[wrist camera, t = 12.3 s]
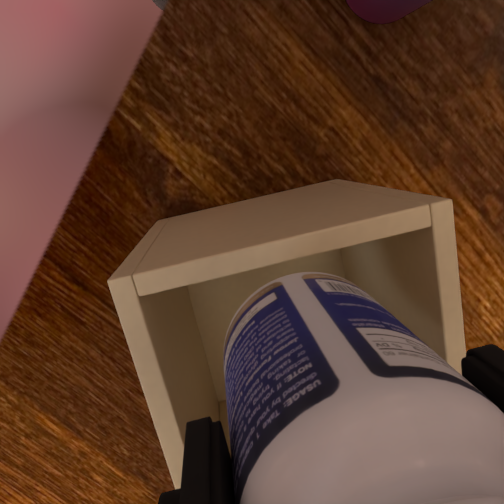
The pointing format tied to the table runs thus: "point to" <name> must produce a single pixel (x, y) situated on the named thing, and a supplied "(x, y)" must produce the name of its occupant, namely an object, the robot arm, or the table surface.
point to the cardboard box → (268, 269)
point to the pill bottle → (350, 405)
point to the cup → (384, 9)
